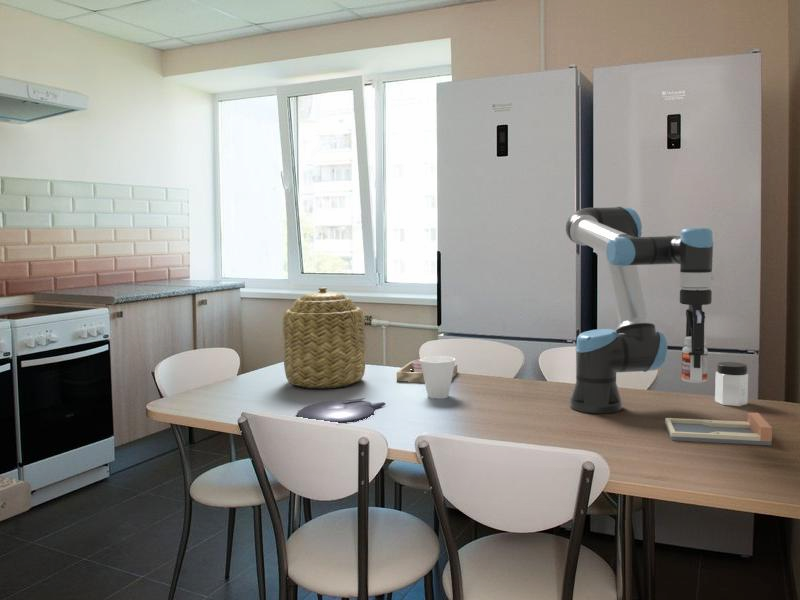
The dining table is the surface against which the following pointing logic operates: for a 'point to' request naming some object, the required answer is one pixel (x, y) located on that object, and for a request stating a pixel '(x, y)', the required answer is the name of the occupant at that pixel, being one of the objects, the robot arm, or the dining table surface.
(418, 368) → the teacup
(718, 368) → the jar
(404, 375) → the birch tray rim
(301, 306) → the basket
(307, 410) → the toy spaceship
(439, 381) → the cup
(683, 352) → the pill bottle
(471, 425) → the dining table surface
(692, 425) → the keyhole board
